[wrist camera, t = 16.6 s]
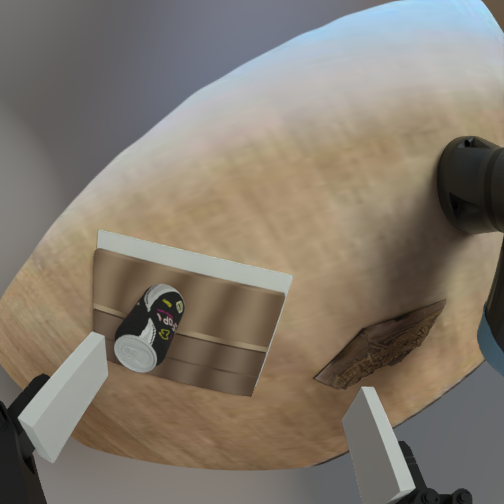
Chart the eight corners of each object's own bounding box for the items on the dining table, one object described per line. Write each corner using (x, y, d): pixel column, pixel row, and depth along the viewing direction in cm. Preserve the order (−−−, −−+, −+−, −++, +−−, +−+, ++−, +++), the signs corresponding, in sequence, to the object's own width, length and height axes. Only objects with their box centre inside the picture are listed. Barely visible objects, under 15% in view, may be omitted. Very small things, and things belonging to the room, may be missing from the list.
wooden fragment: (324, 396, 44) (325, 400, 43) (301, 355, 41) (302, 359, 40) (448, 327, 41) (451, 330, 40) (441, 279, 38) (444, 281, 37)
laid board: (265, 348, 40) (266, 354, 38) (251, 390, 42) (251, 397, 41) (97, 305, 38) (93, 310, 36) (99, 351, 40) (95, 356, 39)
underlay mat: (292, 274, 37) (293, 275, 37) (255, 386, 42) (255, 387, 42) (99, 229, 35) (98, 229, 35) (97, 345, 40) (96, 346, 40)
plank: (284, 292, 37) (285, 297, 36) (266, 346, 40) (267, 352, 38) (99, 247, 35) (94, 250, 34) (97, 303, 38) (93, 308, 36)
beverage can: (154, 273, 35) (116, 320, 23) (193, 295, 36) (170, 350, 24) (139, 306, 36) (103, 359, 25) (176, 326, 37) (151, 385, 26)
